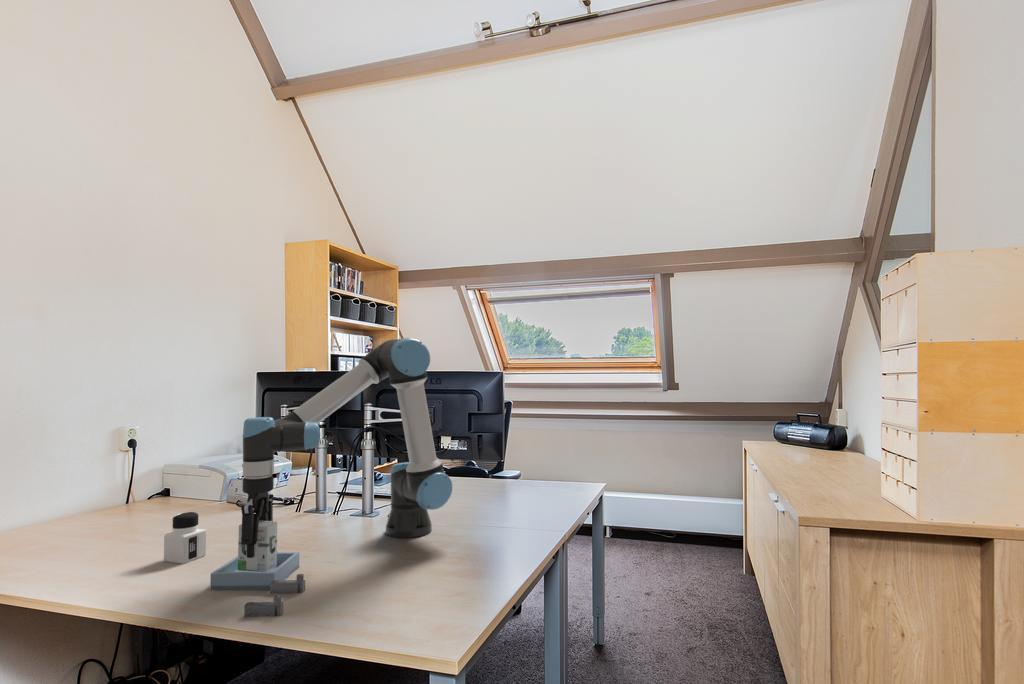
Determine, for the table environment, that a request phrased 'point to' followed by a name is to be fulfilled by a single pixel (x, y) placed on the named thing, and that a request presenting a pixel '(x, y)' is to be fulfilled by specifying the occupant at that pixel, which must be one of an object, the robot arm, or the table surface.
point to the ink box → (261, 547)
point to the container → (185, 539)
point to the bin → (253, 574)
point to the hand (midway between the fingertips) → (257, 564)
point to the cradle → (275, 598)
